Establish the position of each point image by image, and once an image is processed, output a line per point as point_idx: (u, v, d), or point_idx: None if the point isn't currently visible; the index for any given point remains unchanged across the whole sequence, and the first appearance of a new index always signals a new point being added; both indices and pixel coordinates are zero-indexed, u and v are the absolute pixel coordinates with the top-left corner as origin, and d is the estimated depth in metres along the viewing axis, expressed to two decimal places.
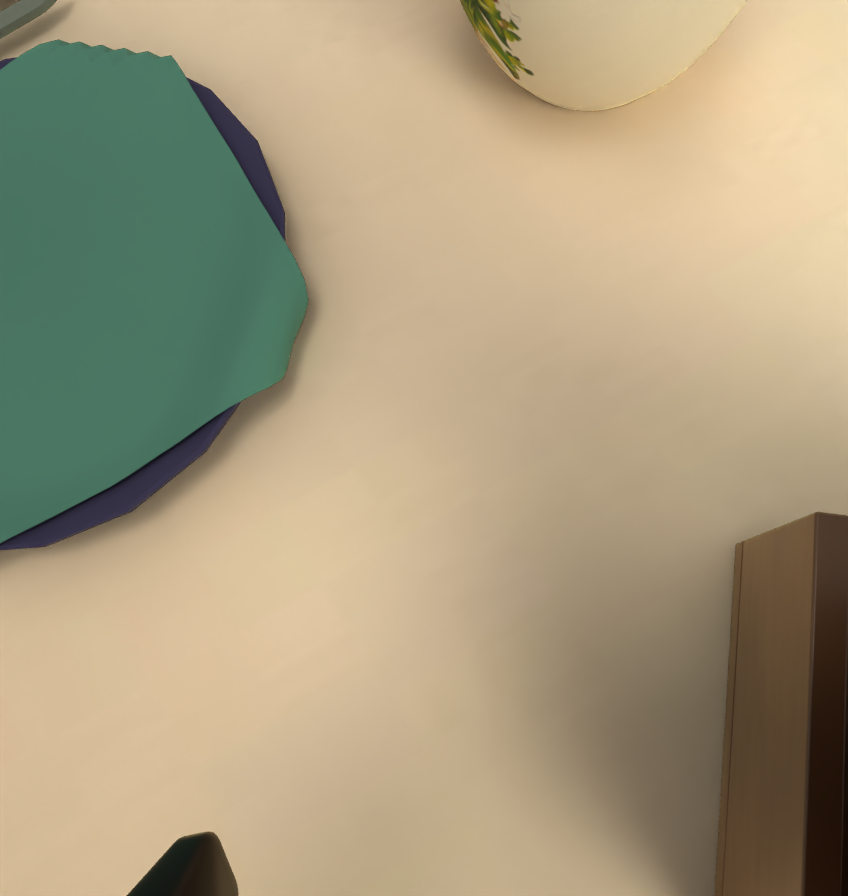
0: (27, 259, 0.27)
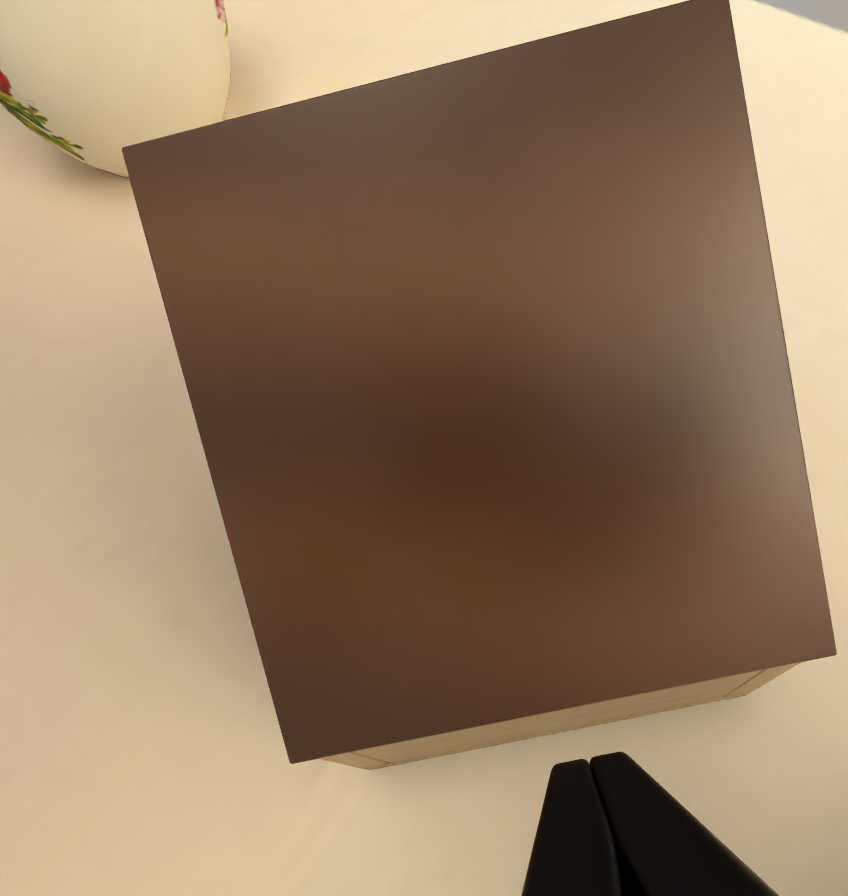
0: None
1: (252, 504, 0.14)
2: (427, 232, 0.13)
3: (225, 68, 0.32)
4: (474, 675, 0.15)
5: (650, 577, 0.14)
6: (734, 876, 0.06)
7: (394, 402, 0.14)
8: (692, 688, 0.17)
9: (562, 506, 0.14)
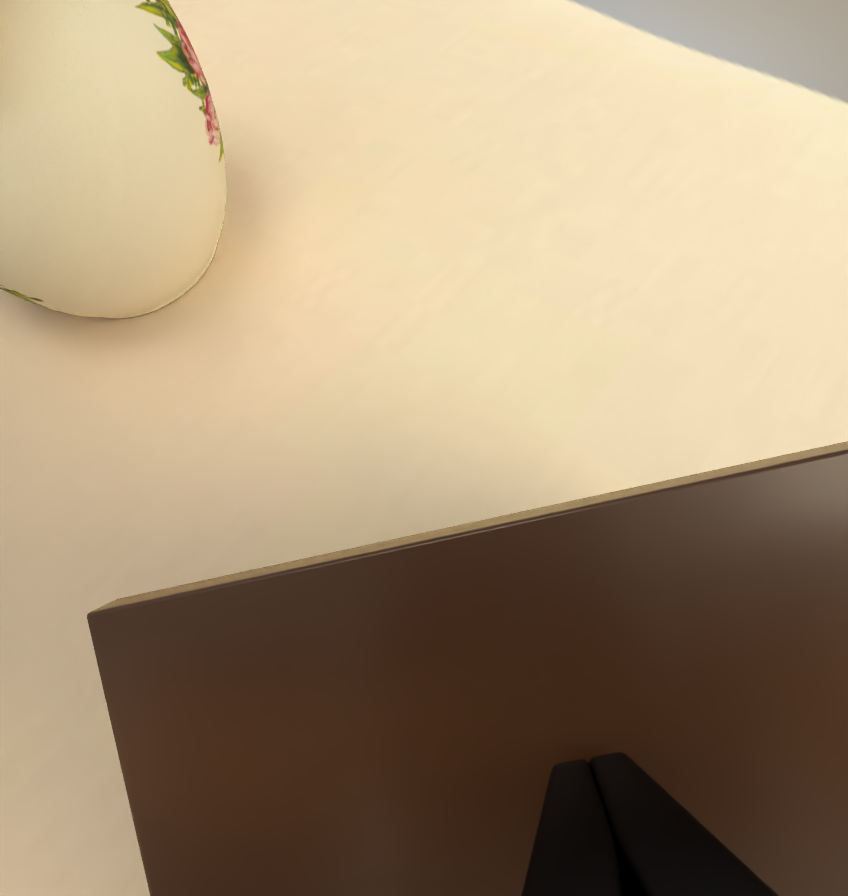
0: None
1: None
2: (548, 755, 0.09)
3: (219, 197, 0.26)
4: None
5: None
6: (734, 876, 0.06)
7: None
8: None
9: None
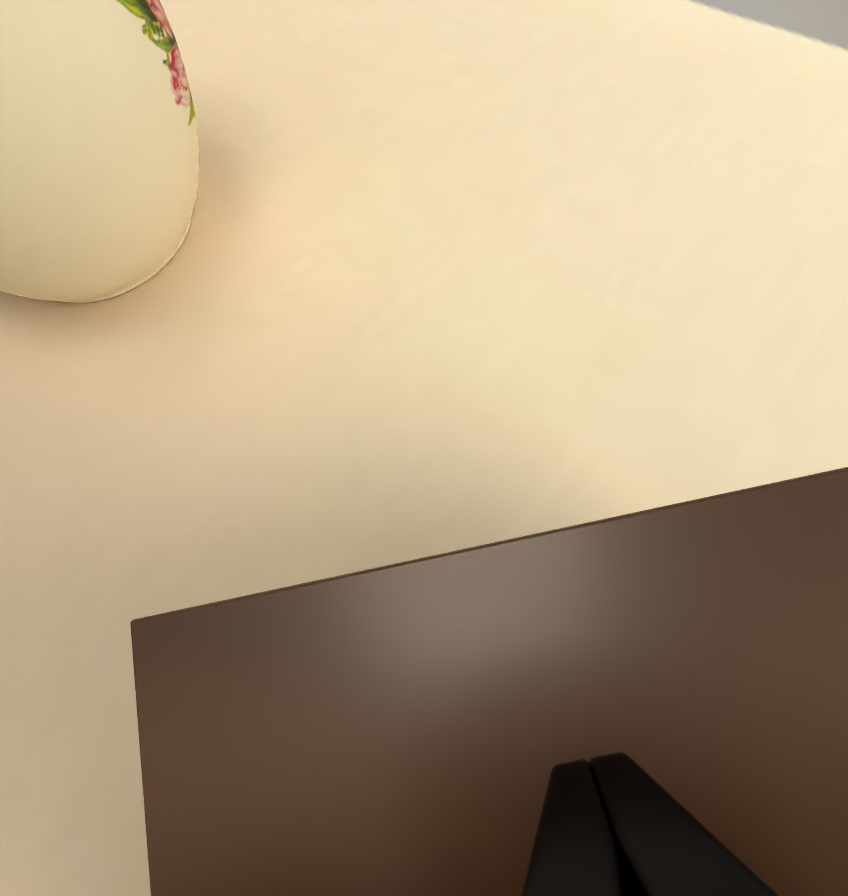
0: None
1: None
2: (551, 766, 0.09)
3: (190, 166, 0.24)
4: None
5: None
6: (734, 876, 0.06)
7: None
8: None
9: None
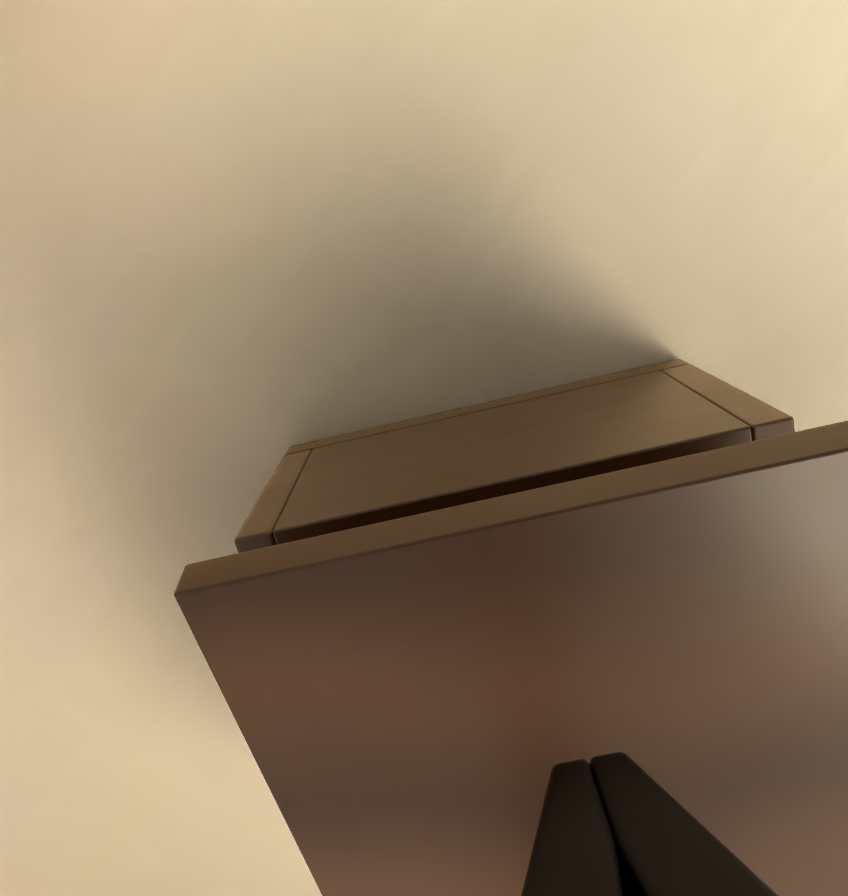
0: None
1: (337, 857, 0.15)
2: (524, 658, 0.12)
3: None
4: None
5: None
6: (734, 876, 0.06)
7: (480, 784, 0.14)
8: None
9: None
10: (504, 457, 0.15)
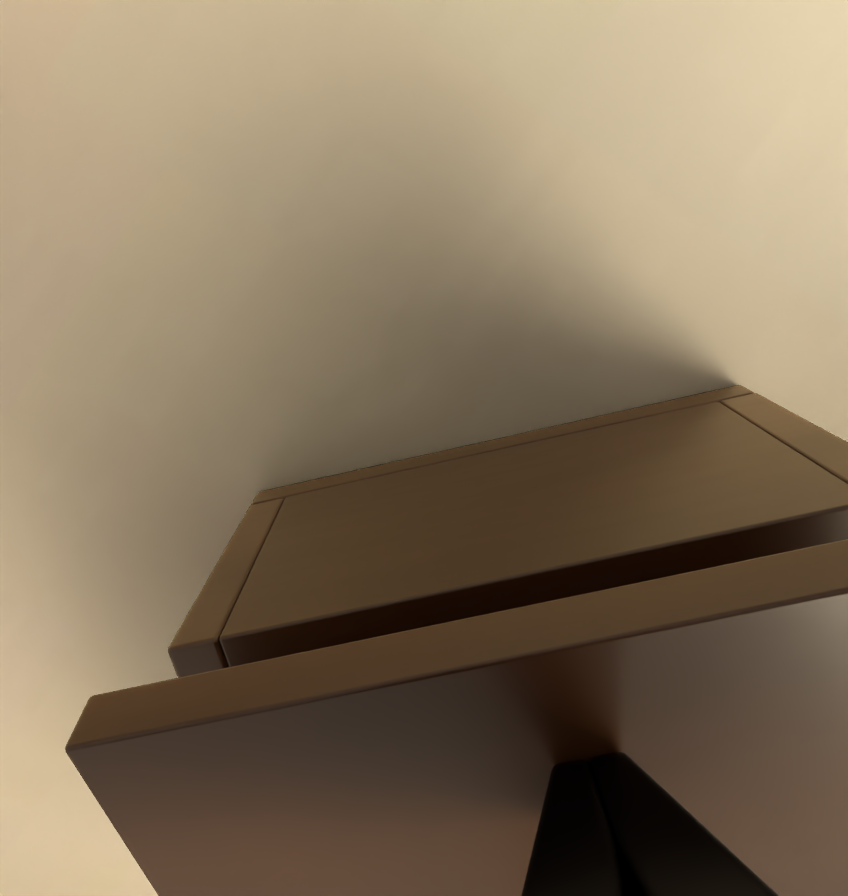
0: None
1: None
2: None
3: None
4: None
5: None
6: (734, 876, 0.06)
7: None
8: None
9: None
10: (531, 530, 0.12)
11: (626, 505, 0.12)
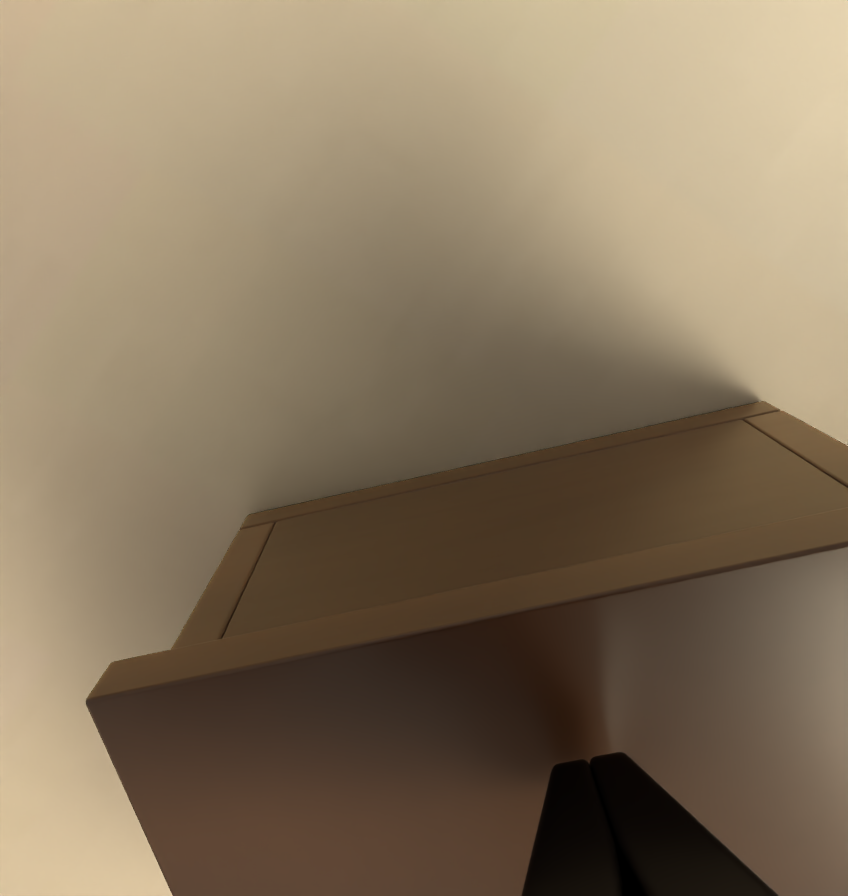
0: None
1: None
2: None
3: None
4: None
5: None
6: (734, 876, 0.06)
7: None
8: None
9: None
10: (543, 567, 0.11)
11: (648, 540, 0.11)
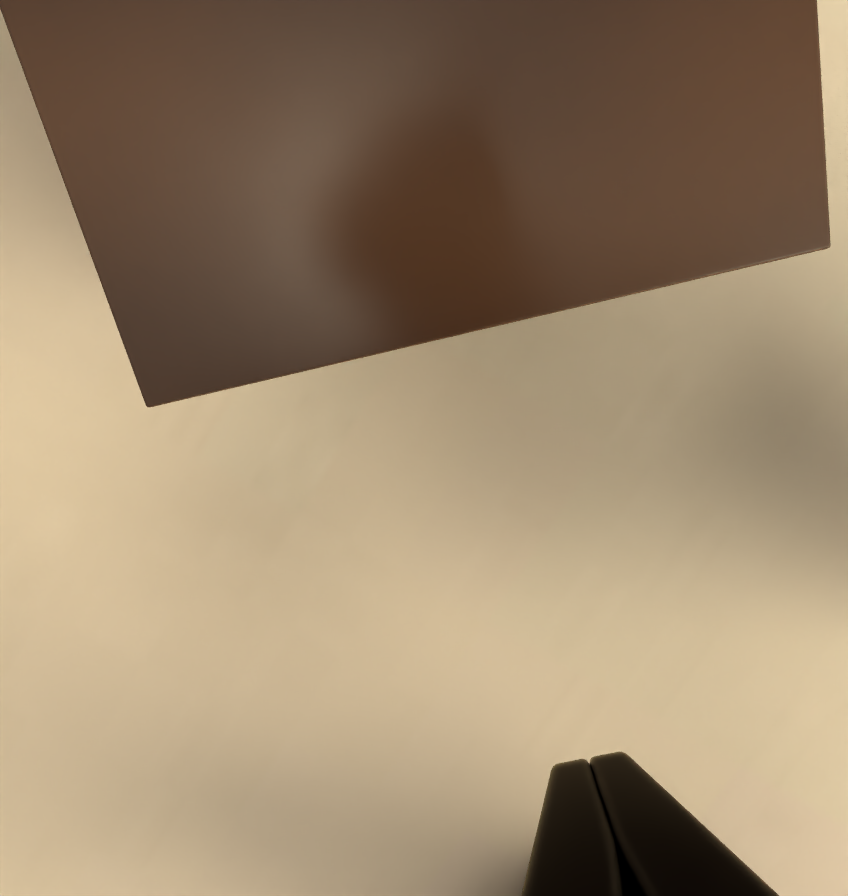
0: None
1: (56, 33, 0.10)
2: None
3: None
4: (372, 283, 0.11)
5: (599, 139, 0.11)
6: (734, 876, 0.06)
7: None
8: None
9: (484, 34, 0.10)
10: None
11: None
